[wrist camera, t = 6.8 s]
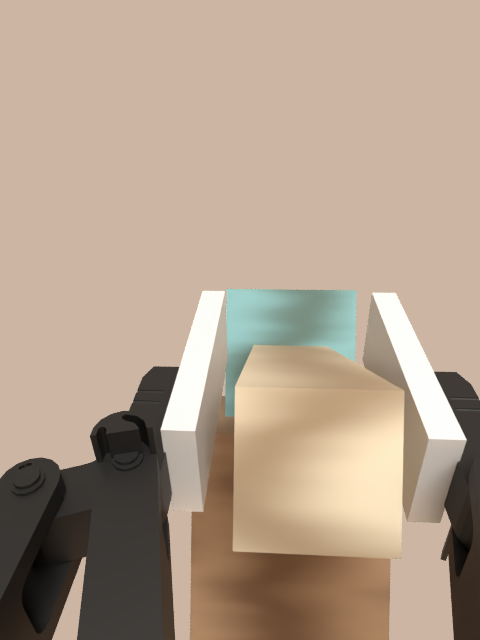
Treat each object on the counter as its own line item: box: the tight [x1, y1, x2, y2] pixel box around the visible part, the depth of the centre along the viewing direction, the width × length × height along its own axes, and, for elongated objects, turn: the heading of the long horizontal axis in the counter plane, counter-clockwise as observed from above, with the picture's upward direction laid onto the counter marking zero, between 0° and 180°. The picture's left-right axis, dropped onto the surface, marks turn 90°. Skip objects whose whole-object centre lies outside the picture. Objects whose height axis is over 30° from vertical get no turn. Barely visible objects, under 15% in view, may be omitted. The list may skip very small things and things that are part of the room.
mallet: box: [225, 289, 405, 559], centre depth 18 cm, size 6×18×6 cm, turn 176°
